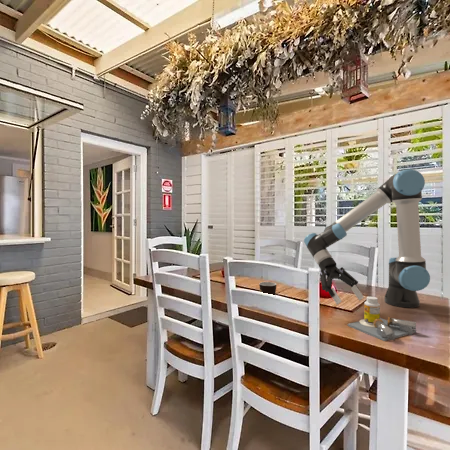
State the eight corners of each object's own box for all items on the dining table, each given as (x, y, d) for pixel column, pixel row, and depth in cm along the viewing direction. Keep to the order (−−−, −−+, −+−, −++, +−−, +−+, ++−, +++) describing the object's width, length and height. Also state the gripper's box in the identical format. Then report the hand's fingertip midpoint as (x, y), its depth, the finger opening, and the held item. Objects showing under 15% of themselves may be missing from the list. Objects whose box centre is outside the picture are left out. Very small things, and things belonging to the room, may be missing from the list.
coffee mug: (276, 306, 142) (276, 286, 142) (258, 305, 144) (258, 285, 144) (276, 300, 154) (277, 281, 153) (260, 299, 156) (260, 280, 155)
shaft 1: (372, 330, 113) (372, 318, 112) (384, 331, 112) (384, 318, 112) (383, 341, 103) (383, 327, 103) (396, 341, 103) (396, 327, 103)
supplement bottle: (363, 319, 122) (363, 295, 121) (378, 321, 120) (379, 296, 119) (364, 324, 116) (365, 298, 116) (380, 326, 114) (380, 300, 114)
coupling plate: (376, 318, 126) (376, 316, 126) (416, 332, 111) (416, 329, 111) (346, 325, 118) (346, 322, 118) (384, 341, 103) (384, 338, 103)
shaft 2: (387, 330, 113) (387, 318, 113) (388, 326, 117) (388, 314, 117) (415, 335, 108) (415, 322, 108) (415, 331, 112) (416, 319, 111)
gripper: (339, 264, 148) (365, 301, 135) (300, 268, 137) (324, 309, 124) (348, 255, 143) (375, 292, 130) (308, 258, 132) (334, 299, 119)
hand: (350, 300), depth 127 cm, fingers open, 13 cm apart
